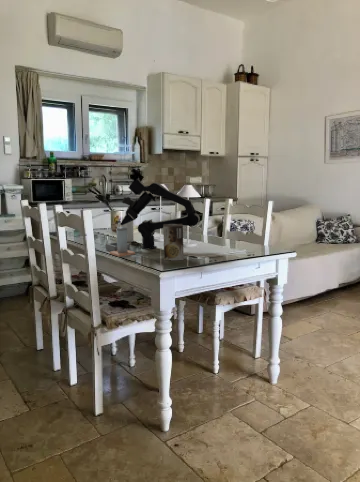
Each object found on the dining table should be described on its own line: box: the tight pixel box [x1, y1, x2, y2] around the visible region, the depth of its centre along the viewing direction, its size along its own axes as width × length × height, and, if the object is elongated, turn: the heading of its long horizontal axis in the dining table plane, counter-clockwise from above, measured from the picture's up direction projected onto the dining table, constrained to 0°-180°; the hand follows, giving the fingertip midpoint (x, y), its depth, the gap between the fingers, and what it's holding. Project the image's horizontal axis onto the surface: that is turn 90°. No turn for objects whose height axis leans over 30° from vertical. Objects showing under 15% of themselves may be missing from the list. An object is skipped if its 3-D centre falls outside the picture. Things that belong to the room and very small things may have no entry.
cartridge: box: [116, 226, 128, 253], centre depth 201 cm, size 5×5×12 cm
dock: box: [105, 241, 136, 258], centre depth 207 cm, size 19×12×3 cm, turn 39°
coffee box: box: [162, 224, 185, 261], centre depth 189 cm, size 9×6×16 cm
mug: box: [116, 219, 135, 243], centre depth 233 cm, size 10×7×12 cm, turn 122°
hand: (121, 223), depth 213 cm, fingers open, 9 cm apart
